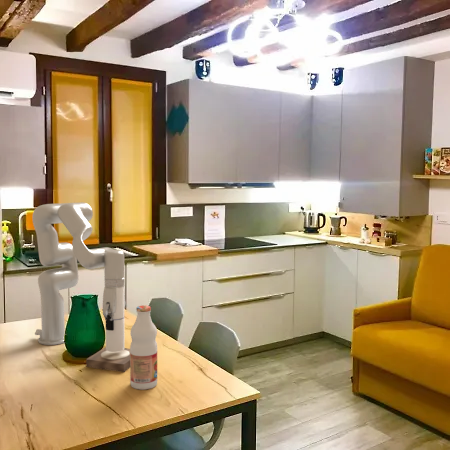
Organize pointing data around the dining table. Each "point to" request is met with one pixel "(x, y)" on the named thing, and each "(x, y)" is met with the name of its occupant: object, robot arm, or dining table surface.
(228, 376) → the dining table surface
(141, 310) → the fruit juice
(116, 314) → the cylindrical container
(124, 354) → the walnut plinth
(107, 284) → the robot arm
